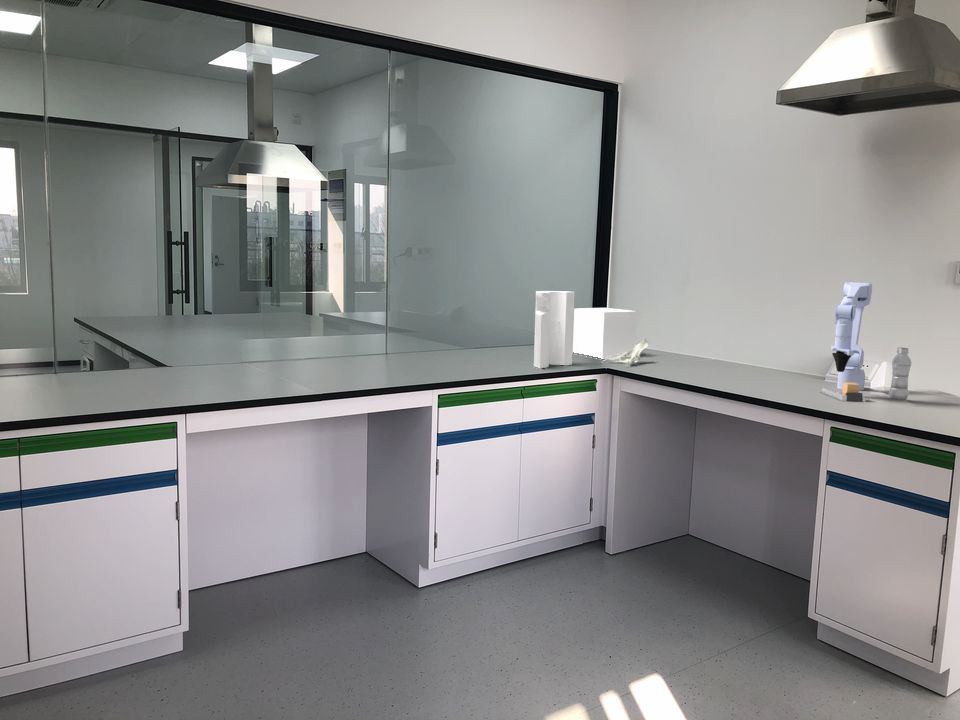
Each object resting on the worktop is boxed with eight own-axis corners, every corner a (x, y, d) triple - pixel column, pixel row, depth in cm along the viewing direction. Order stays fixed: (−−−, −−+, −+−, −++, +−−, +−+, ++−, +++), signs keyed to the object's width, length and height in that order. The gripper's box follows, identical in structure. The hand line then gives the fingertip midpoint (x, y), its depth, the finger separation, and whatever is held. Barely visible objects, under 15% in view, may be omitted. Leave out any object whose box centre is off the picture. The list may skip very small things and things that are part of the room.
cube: (634, 358, 397) (636, 311, 394) (602, 360, 387) (604, 312, 383) (603, 352, 419) (605, 307, 415) (572, 354, 408) (574, 308, 405)
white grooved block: (573, 365, 364) (541, 369, 351) (556, 362, 373) (524, 366, 360) (575, 292, 359) (543, 292, 346) (558, 290, 368) (526, 291, 355)
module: (853, 398, 288) (854, 382, 287) (858, 400, 284) (859, 384, 283) (841, 398, 288) (843, 382, 287) (846, 400, 284) (847, 384, 283)
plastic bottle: (901, 398, 293) (906, 347, 291) (911, 402, 287) (916, 349, 284) (884, 398, 293) (889, 346, 290) (894, 402, 286) (899, 349, 284)
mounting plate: (843, 394, 300) (844, 385, 299) (866, 403, 282) (867, 393, 281) (819, 394, 300) (820, 384, 299) (840, 403, 282) (841, 393, 281)
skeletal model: (599, 364, 372) (626, 327, 381) (608, 376, 377) (634, 340, 386) (624, 367, 359) (651, 329, 368) (632, 380, 364) (659, 343, 373)
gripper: (824, 334, 299) (821, 368, 301) (841, 338, 284) (838, 374, 286) (842, 334, 299) (839, 368, 301) (860, 338, 284) (857, 374, 286)
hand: (840, 371), depth 293 cm, fingers closed
